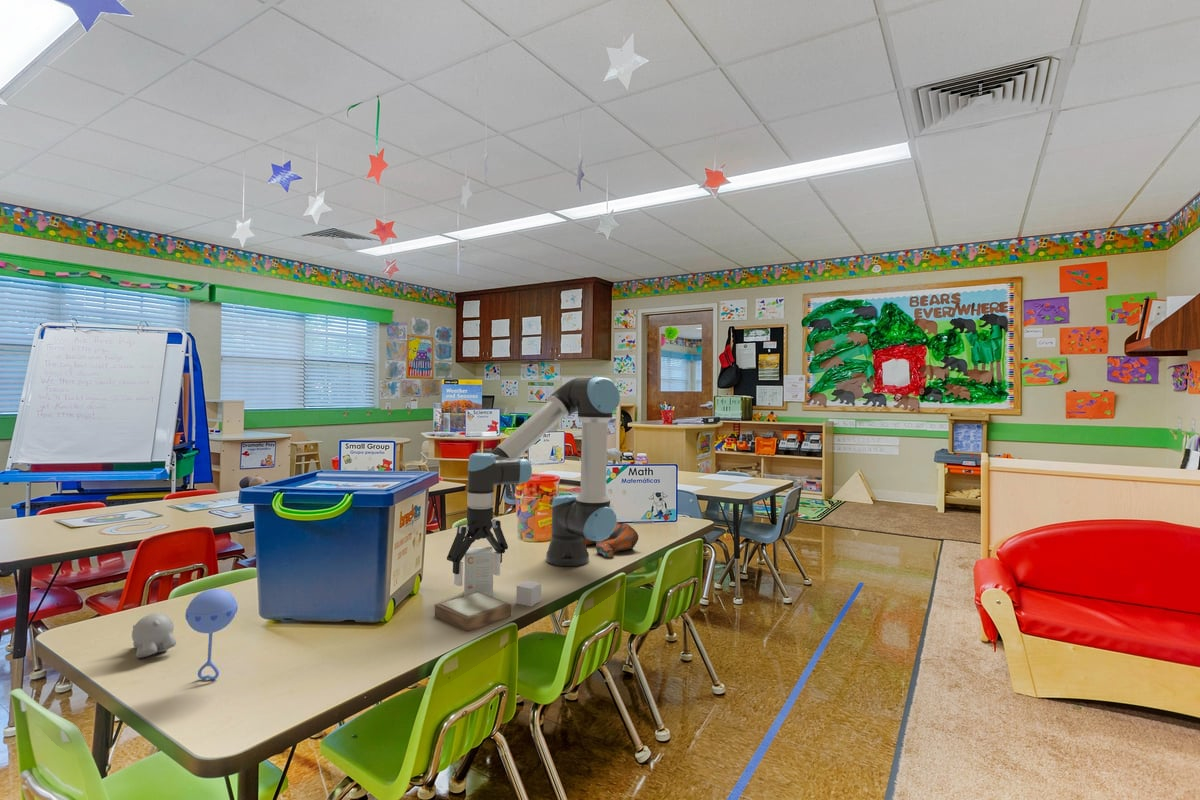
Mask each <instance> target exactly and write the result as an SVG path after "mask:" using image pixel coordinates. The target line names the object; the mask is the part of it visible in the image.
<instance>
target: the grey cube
mask: <svg viewBox="0 0 1200 800" xmlns="http://www.w3.org/2000/svg"><path fill="white" fill-rule="evenodd" d="M515 595H516V596H515V597H516V599H515V600H516V602H515V603H516V604H519V605H523V606H527V607H533V606H535V605H536V604H538V603H540V602H541V601H542V583H540V582H535V581H530V580H525V581H523V582H521V583H519V584H517V585H516V594H515Z"/></svg>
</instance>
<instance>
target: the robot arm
mask: <svg viewBox="0 0 1200 800" xmlns="http://www.w3.org/2000/svg"><path fill="white" fill-rule="evenodd" d="M620 399H621V395H620V391H619V388H618V386H617V385H616V383H615V382H614V381H613V380H612V379H610V378H607V377H600V376H594V377H593V376H592V377H575V378H573V379H570V380H568V381H567V382H566V383H564V384H562V385H561V386H560V387H559V388H557V389H556V390H555V391H554V392H552V394H550V395H549V396H548V397H547V400H546V401H547V402H546V403H545V404H544V405H543V406H541V407H540V408H539V409H538V410H537V411H535V412H534V413H533V414H532V415H531V416H530V417H528V419H527V420H525V421H524V422H523V423H522V424H521V425H520V426H519V427H517V428H516V429H515V430H514V431H513V432H512V433H511V434H509V435H508V436H507V437H506V438H504V440H503V441H502V442H500V443H499V444H498V445H497V446H496V447H495V448H494V449H492V450H491V451H490V452H475V453H471V454H470V455H469V456H468V457H469V458H468V463H467V464H468V466H467V495H466V497H467V499H466V501H467V502H466V505H467V508H466V521H467V524H466V525H464V526H463V525H458V526H457V530H456V535H455V537H454V539H453V542H452V544H451V547H450V549H449V552H448V554H447V556H446V561H449V562H451V563H452V574H454V582H453V584H454V585H456V586H458V587H462V586H463V577H464V576H463V574H464V562H463V561H462V560H463V558H465V554H466V552H467V550H468V549H469V548H471V546H472V545H473V543H475V541H478V540H481V539H485V540H487V541H488V543H489V545H491V547H492V549H493V550H495V551H493V576H498V577H500V576H501V563H502V562H503V554H505V553H506V550H508V549H509V545H508V544H507V543H508V542H507V540H506V538H505V535H504V533H503V530H502V525H501V521H500V520H497V519H494V508H493V506H494V502H495V501H494V499H495V497H494V496H495V495H494V494H495V493H494V492H495V486H500V485H515V484H516V485H520V484H524V483H525V484H526V483H527V482H529V481H530V480H531V478H532V475H533V474H532V471H533V468H532V464H531V462H530V461H529V459H527V458H520V457H521V456H522V455H523V454H525V453H526V452H527V451H528V450H529V449H530V448H531V447H532V446H534V444H535V443H537V442H538V441H539V440H540V439H541V438H542V437H543V436H545V434H547V433H548V432H549V431H550V430H551V429H552V428H553V427H554V426H555V425H557V424H558V423H559V422H560V421H561V420H562V419H568V417H570V416H571V415H572V414H574V413H577V418H578V419H579V420H580V422H581V451H580V452H581V453H580V454H581V456H580V457H581V458H580V461H581V462H580V489H579V490H580V493H579V494H567V495H558V496H554V497H553V499H552V505H551V539H550V542H549V545H548V549H547V552H546V555H545V562H546V563H548V564H550V565H553V566H557V567H579V566H582V565H585V564H588V563H589V562H590V561H589V560H590V554H589V552H588V548H587V545H586V543H585V539H584V538H586V539H588V540H593V541H603V540H605V539H607V538H608V537H609V536H610V535H611V534H612V533H613V531H614V529H615V527H616V523H617V522H618V521H617V520H618V518H617V514H616V512H615V511H614V510H613V508H612V507H611V498H610V497H609V496H608V495H607V465H608V461H607V459H608V430H609V429H608V426H609V425H608V424H609V422H610V421H611V420H612V419H613V412H615V410H617V407H618V406H620V401H621V400H620ZM491 530H493V532H494V534H493V532H492V531H491Z"/></svg>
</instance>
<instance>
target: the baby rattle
mask: <svg viewBox="0 0 1200 800" xmlns="http://www.w3.org/2000/svg"><path fill="white" fill-rule="evenodd" d="M238 606H239V605H238V601H237V599H236V598H235V596H234V595H233V594H232V592H230V591H228V590H226V589H223V588H210V589H207V590H204V591H202V592H200V593H198V594H197V595H195V597H193V599H192V600H191V601H190V603H189V604H188V606H187V608H186V610H185V616H184V617H185V620H186V622H187V624H188V625H189V627H190V628H191V629H192V630H194V631H195V632H197V633H202V634H208V645H207V661H206V662H205V663H204V664H202V666H201V667H200V668H199V669H198V670H197V677H198V678H199V679H201V680H206V679H209V680H212V681H213V680H214V681H215V680H217V679H218V677H219V676H220V670H219V669H218V667H217V666H216V664H214V662H213V661H212V652H213V651H212V647H213V633H216V632H219V631H221V630H223V629H224V628H227V627H228V625H229V624H231V622H232V621H233V620H234V618H235V616H236V615H237V613H238V608H239V607H238ZM206 667H211V668H212V670H213V671H214V673H215V675H214V676H213V675H211V674H206V675H203V674H202V672H203V670H204V669H205V668H206Z"/></svg>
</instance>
